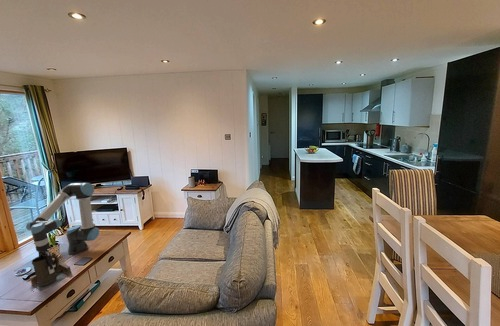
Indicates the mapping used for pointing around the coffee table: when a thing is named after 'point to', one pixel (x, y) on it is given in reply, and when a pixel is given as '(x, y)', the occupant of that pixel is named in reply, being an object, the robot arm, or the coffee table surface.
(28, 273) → the coffee table surface
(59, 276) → the pad
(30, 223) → the robot arm
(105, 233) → the coffee table surface
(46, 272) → the beer stein
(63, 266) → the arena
